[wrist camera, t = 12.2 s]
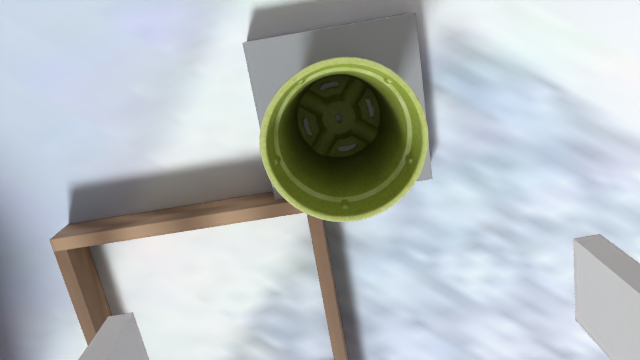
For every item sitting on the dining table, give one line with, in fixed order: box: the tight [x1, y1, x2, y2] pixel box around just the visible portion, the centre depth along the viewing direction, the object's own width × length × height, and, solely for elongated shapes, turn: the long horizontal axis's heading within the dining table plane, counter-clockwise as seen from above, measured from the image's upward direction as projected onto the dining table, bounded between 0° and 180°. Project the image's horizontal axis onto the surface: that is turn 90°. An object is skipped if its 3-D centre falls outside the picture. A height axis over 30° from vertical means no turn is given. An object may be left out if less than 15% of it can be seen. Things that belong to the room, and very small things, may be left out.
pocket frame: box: [50, 192, 348, 360], centre depth 42 cm, size 21×21×3 cm
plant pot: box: [260, 57, 429, 222], centre depth 32 cm, size 9×9×9 cm
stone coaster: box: [243, 13, 432, 200], centre depth 37 cm, size 12×12×2 cm
